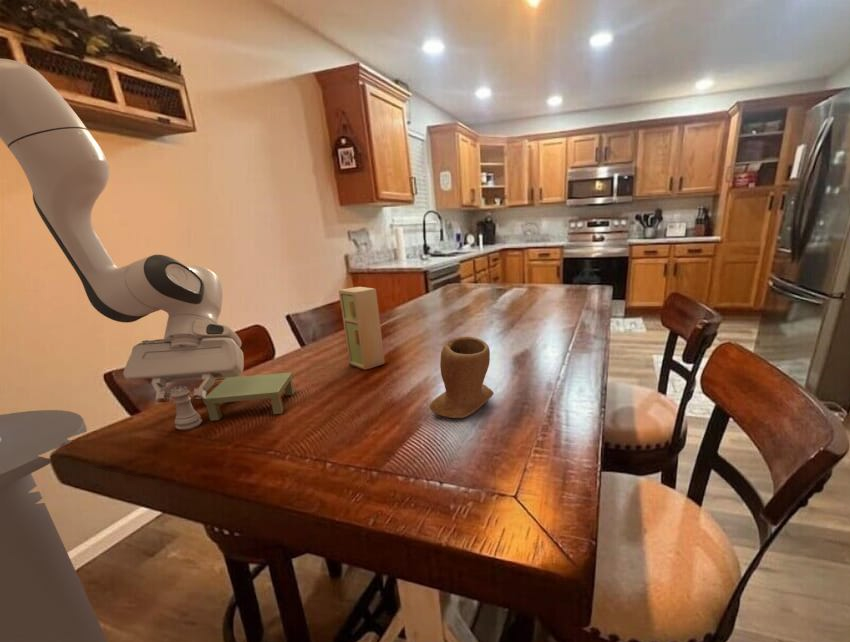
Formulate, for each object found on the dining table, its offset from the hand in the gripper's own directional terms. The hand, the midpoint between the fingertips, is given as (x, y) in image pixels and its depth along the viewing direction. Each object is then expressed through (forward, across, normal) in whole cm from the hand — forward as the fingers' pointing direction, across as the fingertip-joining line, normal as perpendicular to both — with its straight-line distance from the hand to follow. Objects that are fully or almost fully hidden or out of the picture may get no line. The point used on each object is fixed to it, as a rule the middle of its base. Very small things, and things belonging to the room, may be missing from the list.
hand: (180, 399), depth 78 cm
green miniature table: (-1, +10, +10) cm, 14 cm away
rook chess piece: (+4, 0, +5) cm, 6 cm away
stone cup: (+7, +55, +1) cm, 56 cm away
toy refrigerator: (-17, +32, +25) cm, 44 cm away
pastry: (-8, -1, +17) cm, 19 cm away
